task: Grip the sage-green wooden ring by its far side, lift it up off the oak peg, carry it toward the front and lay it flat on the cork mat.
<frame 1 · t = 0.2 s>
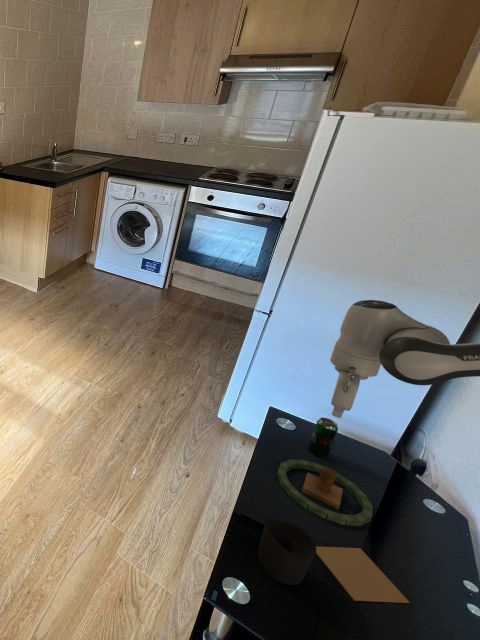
hand: (338, 407, 105), 31 cm above the table, tool pointing down, fingers open, 8 cm apart
pen holder: (278, 567, 96), on the table
soda can: (317, 453, 131), on the table
ring: (321, 492, 116), on the table
mat: (357, 573, 95), on the table
peg stand: (321, 492, 116), on the table
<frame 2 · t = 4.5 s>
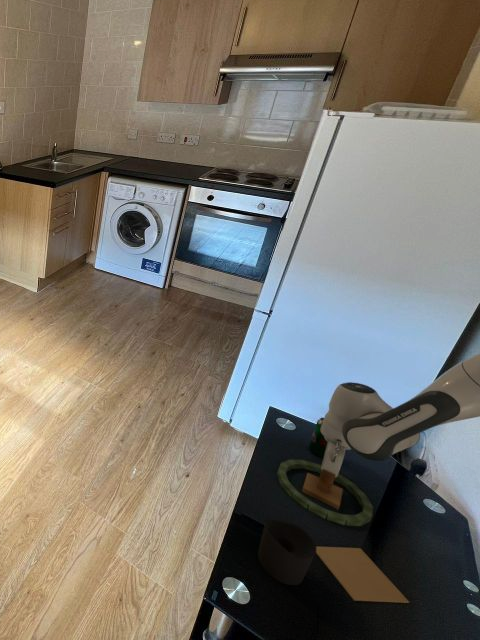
hand: (327, 470, 122), 2 cm above the table, tool pointing down, fingers closed on ring, 2 cm apart
ring: (321, 492, 116), on the table, touching gripper
everything else where it was.
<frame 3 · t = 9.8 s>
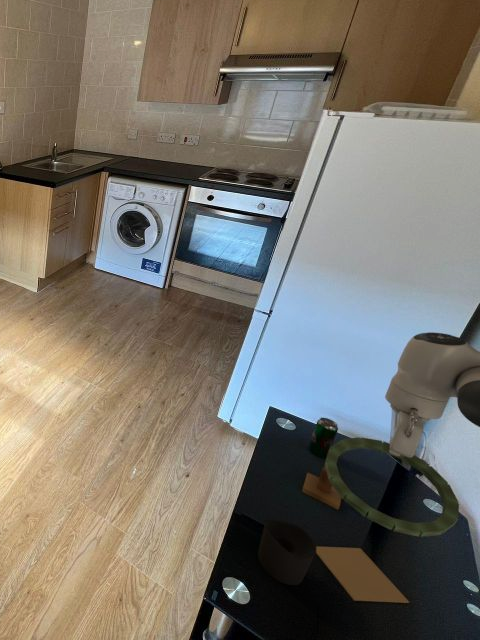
hand: (394, 449, 95), 28 cm above the table, tool pointing down, fingers closed on ring
ring: (385, 484, 90), point 24 cm above the table, tilted 21°, touching gripper
everything else where it was.
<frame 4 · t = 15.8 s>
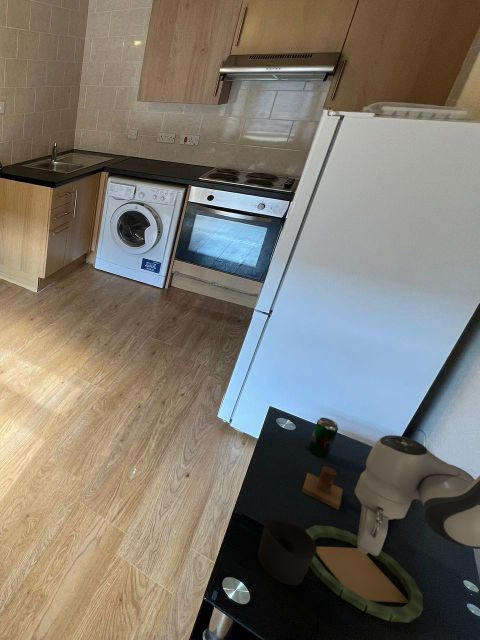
hand: (363, 539, 100), 2 cm above the table, tool pointing down, fingers open, 6 cm apart
ring: (356, 571, 95), on the table, touching mat
everything else where it was.
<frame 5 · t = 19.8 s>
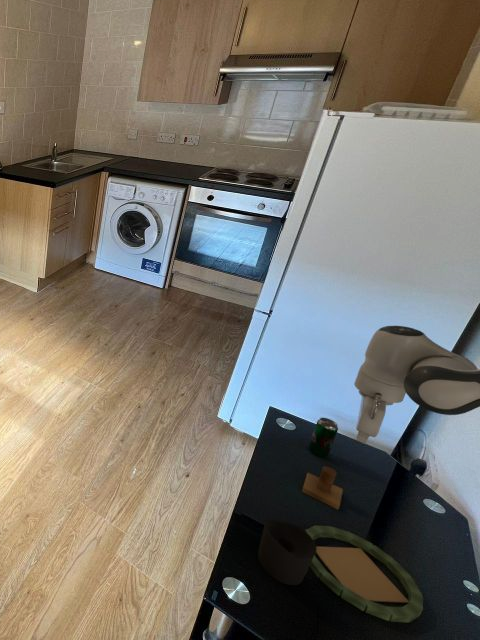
hand: (362, 431, 105), 25 cm above the table, tool pointing down, fingers open, 8 cm apart
nothing on the table moved.
at the end: ring inside the target area on the mat (0.2 cm from its centre), point 0.2 cm above the mat's base; ring moved 24.6 cm from its start; the gripper is holding nothing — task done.
